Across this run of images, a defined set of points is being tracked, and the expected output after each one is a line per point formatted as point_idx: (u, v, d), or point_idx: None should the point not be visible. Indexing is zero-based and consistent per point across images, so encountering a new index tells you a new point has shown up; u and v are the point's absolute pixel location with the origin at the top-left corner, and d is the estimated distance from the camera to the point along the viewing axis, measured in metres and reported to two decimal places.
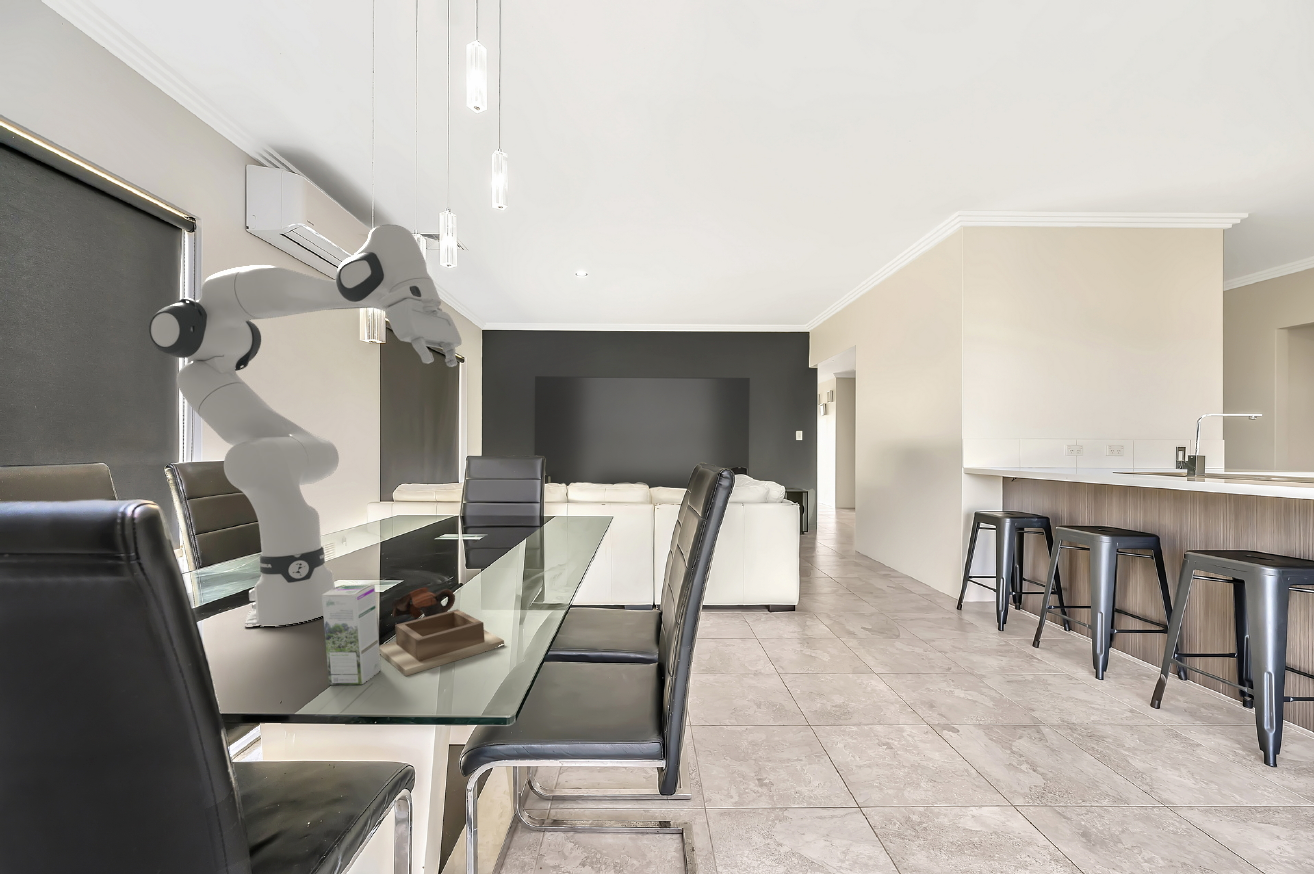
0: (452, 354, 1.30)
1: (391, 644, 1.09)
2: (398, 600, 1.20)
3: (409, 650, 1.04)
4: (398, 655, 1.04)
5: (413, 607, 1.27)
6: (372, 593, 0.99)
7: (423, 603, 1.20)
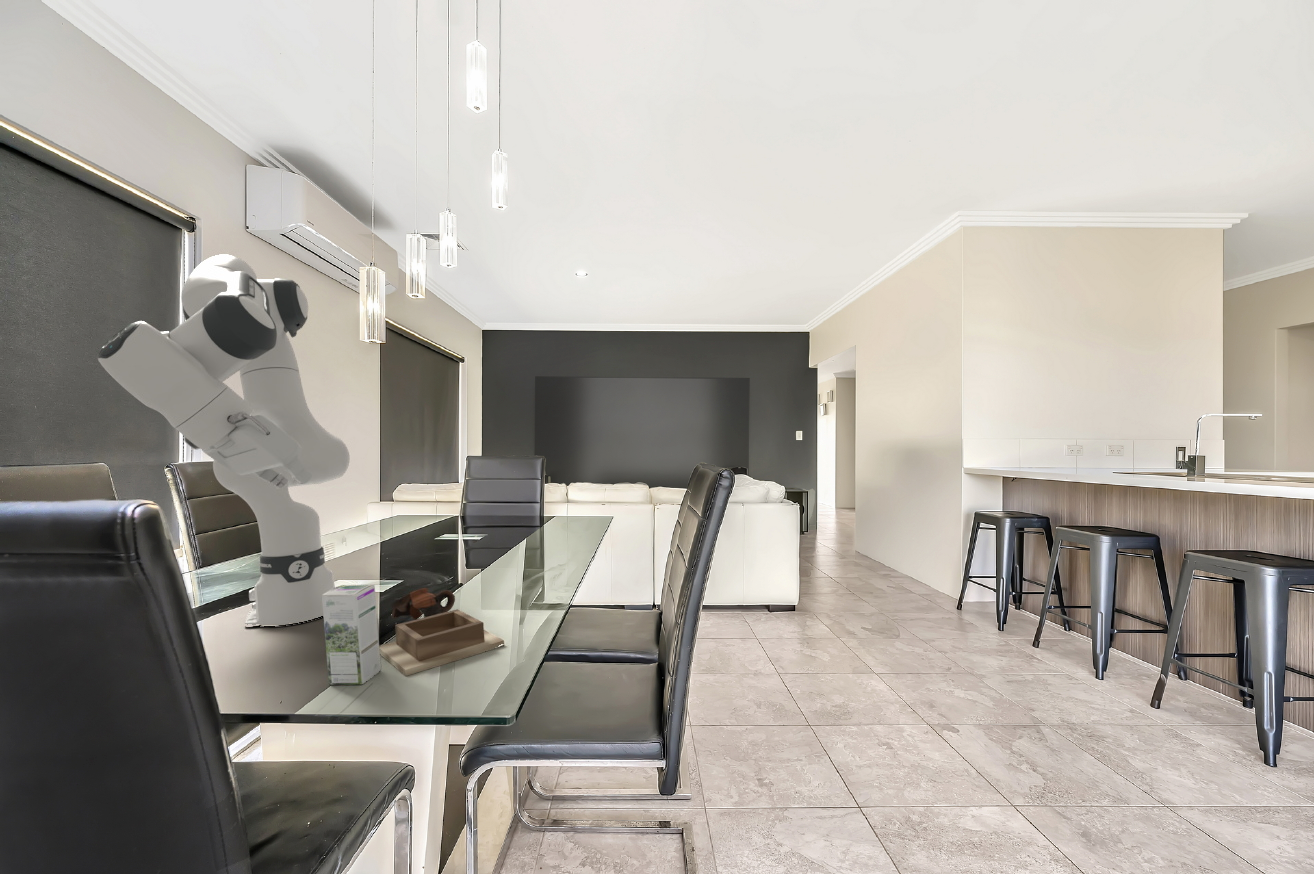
0: None
1: (391, 644, 1.09)
2: (398, 601, 1.20)
3: (409, 650, 1.04)
4: (398, 655, 1.04)
5: (413, 608, 1.26)
6: (372, 593, 0.99)
7: (423, 604, 1.20)
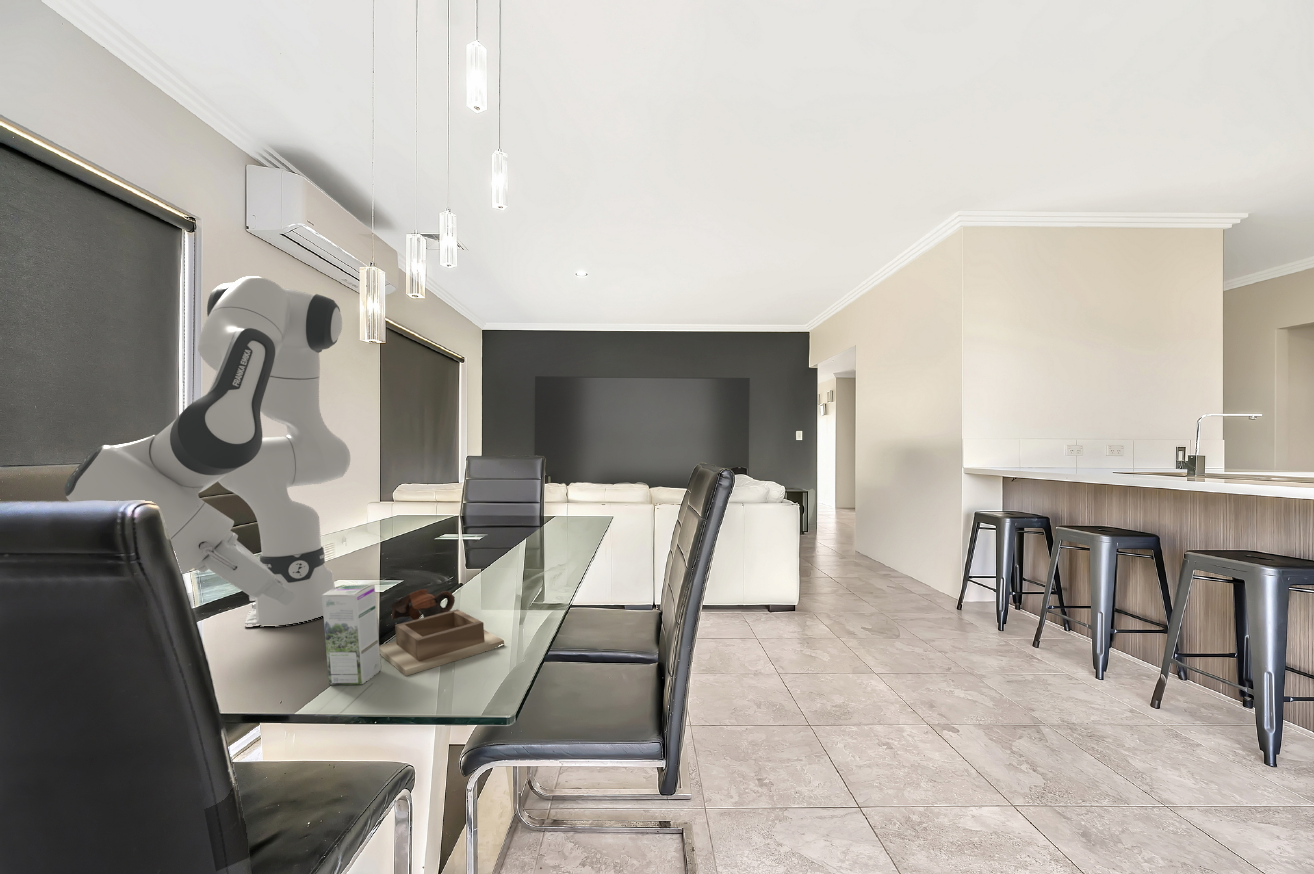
0: None
1: (391, 644, 1.09)
2: (397, 602, 1.19)
3: (409, 650, 1.04)
4: (398, 655, 1.04)
5: (412, 609, 1.25)
6: (372, 593, 0.99)
7: (422, 605, 1.19)
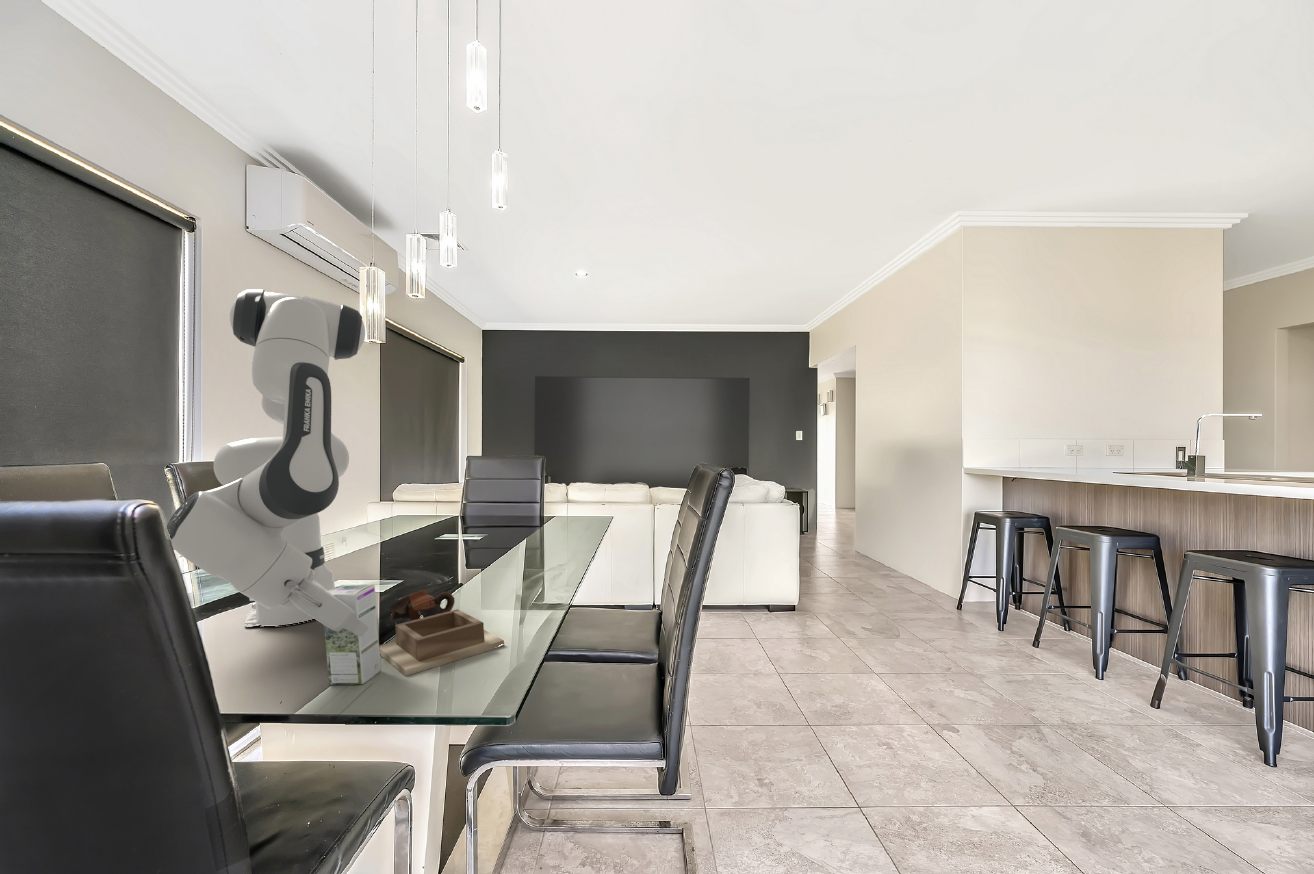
0: None
1: (391, 644, 1.09)
2: (397, 603, 1.18)
3: (409, 650, 1.04)
4: (398, 655, 1.04)
5: (411, 610, 1.25)
6: (372, 593, 0.99)
7: (422, 606, 1.18)
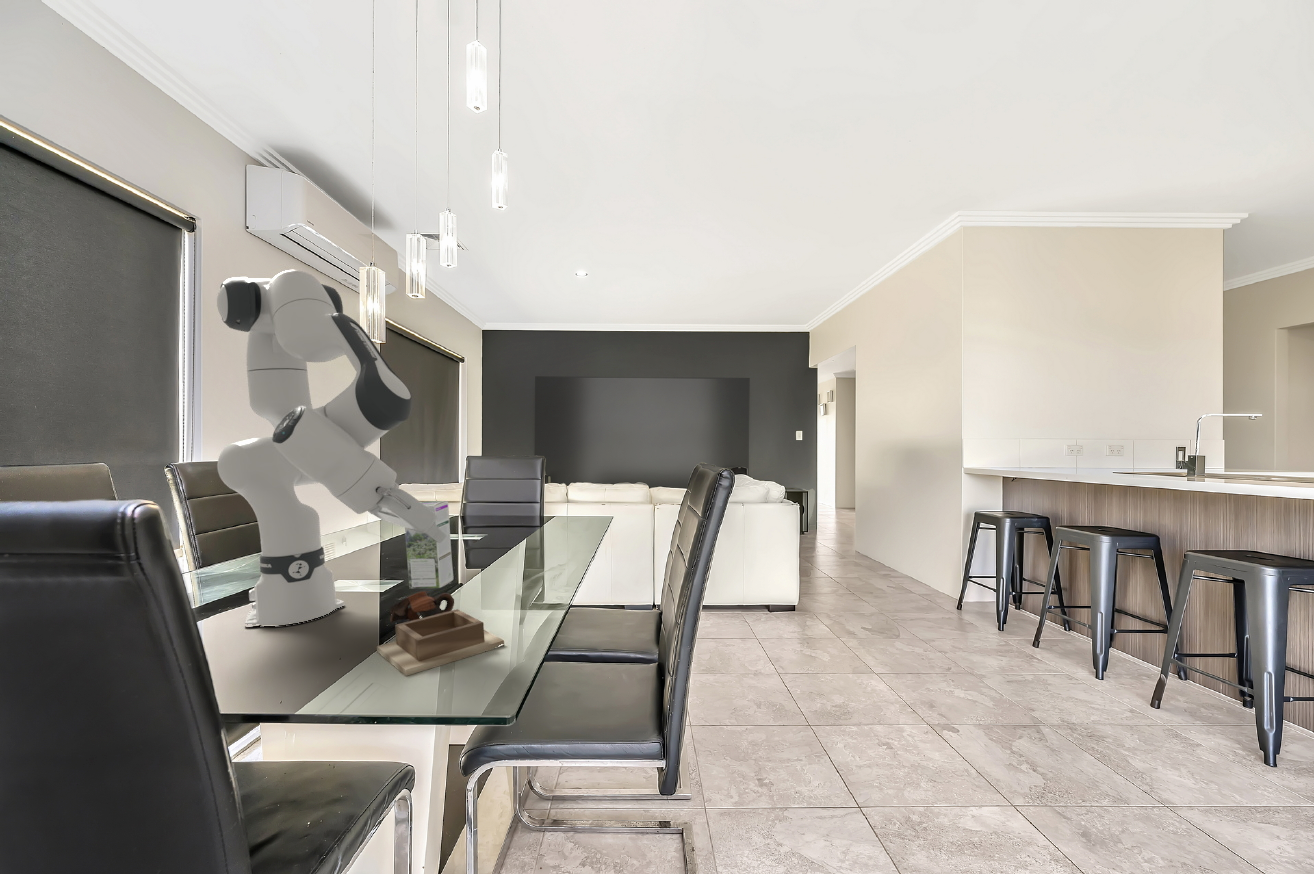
0: None
1: (391, 644, 1.09)
2: (396, 605, 1.17)
3: (409, 650, 1.04)
4: (398, 655, 1.04)
5: (411, 612, 1.24)
6: (446, 508, 1.09)
7: (422, 607, 1.17)
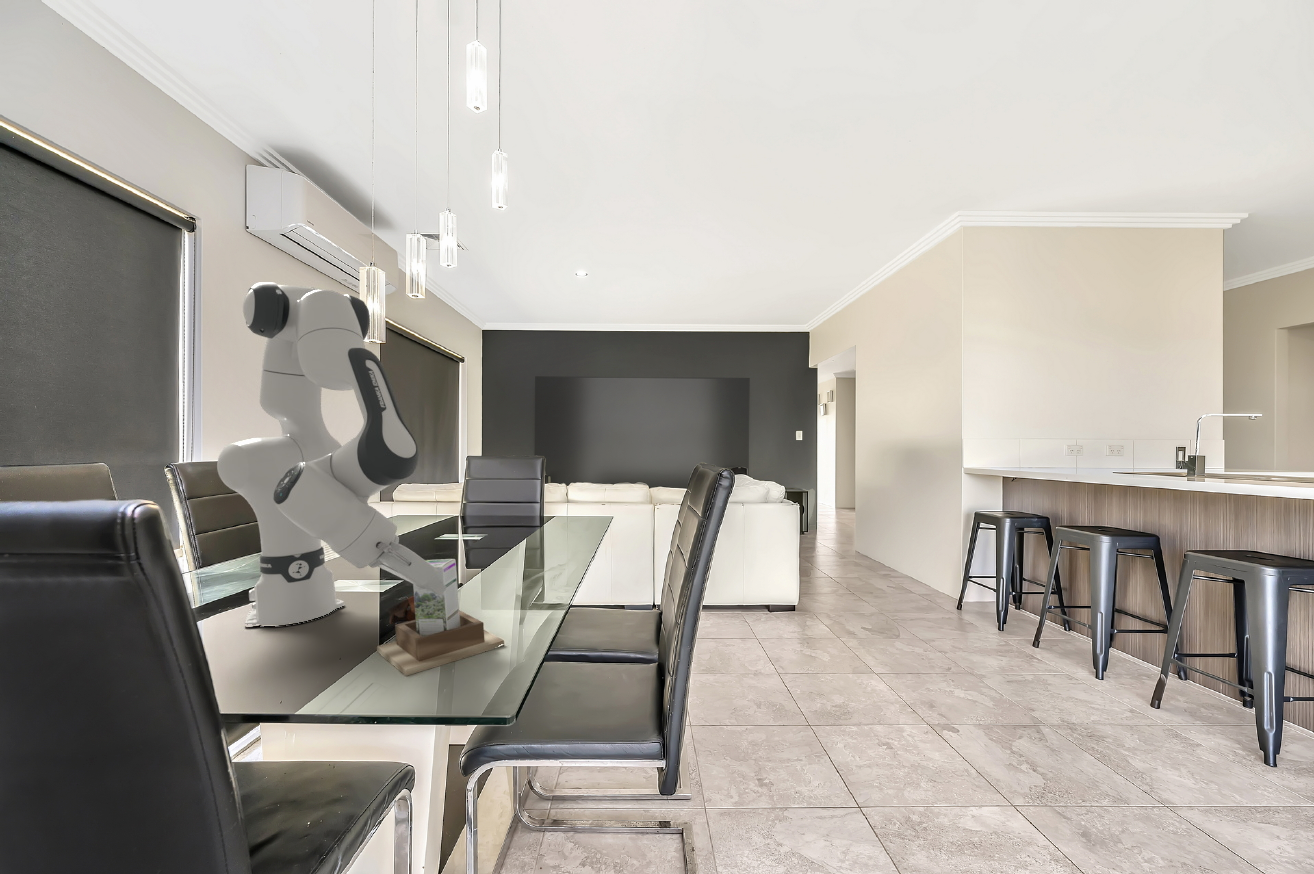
0: None
1: (391, 644, 1.09)
2: (395, 606, 1.16)
3: (409, 650, 1.04)
4: (398, 655, 1.04)
5: (410, 613, 1.22)
6: (454, 567, 1.09)
7: None
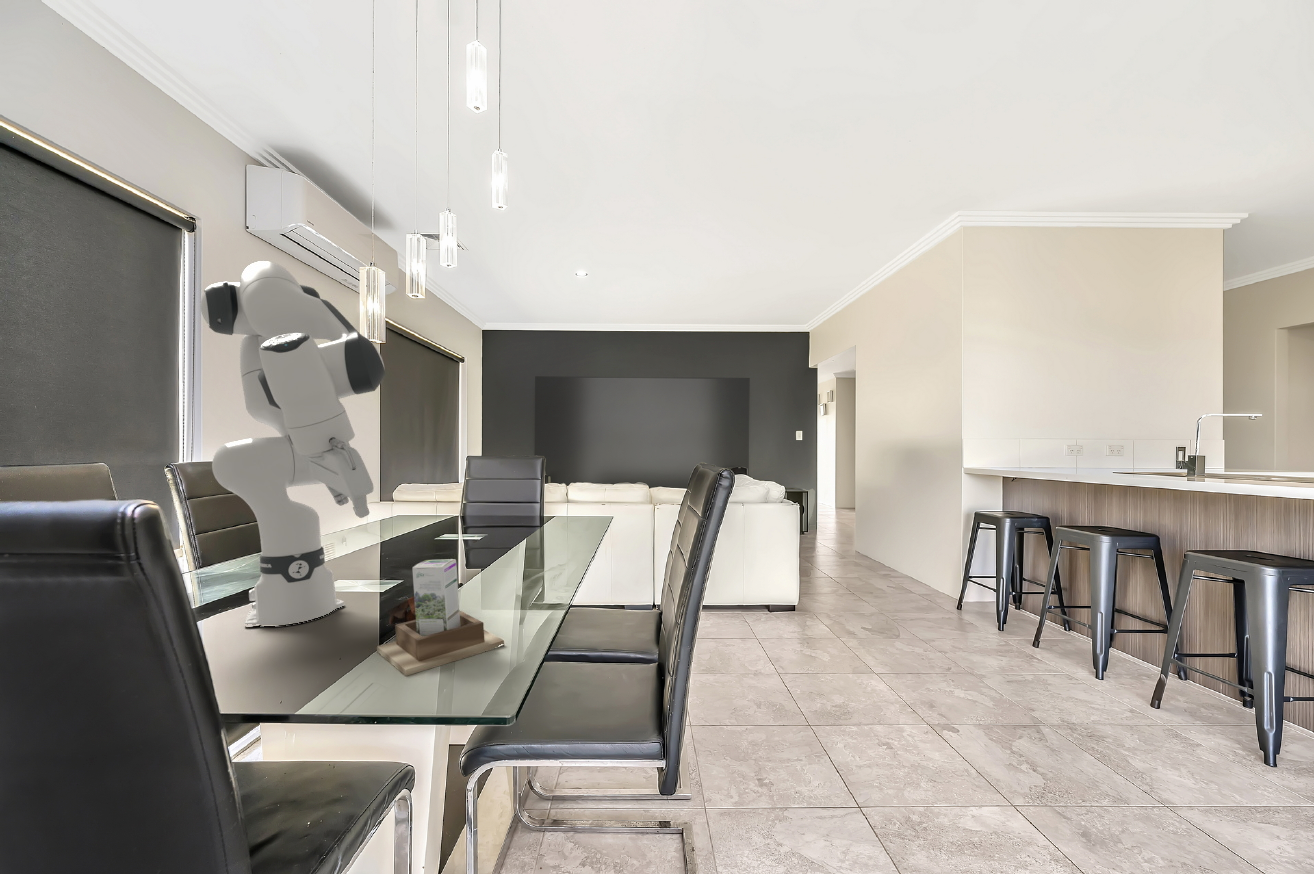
0: None
1: (391, 644, 1.09)
2: (395, 607, 1.16)
3: (409, 650, 1.04)
4: (398, 655, 1.04)
5: (410, 614, 1.22)
6: (454, 567, 1.09)
7: None
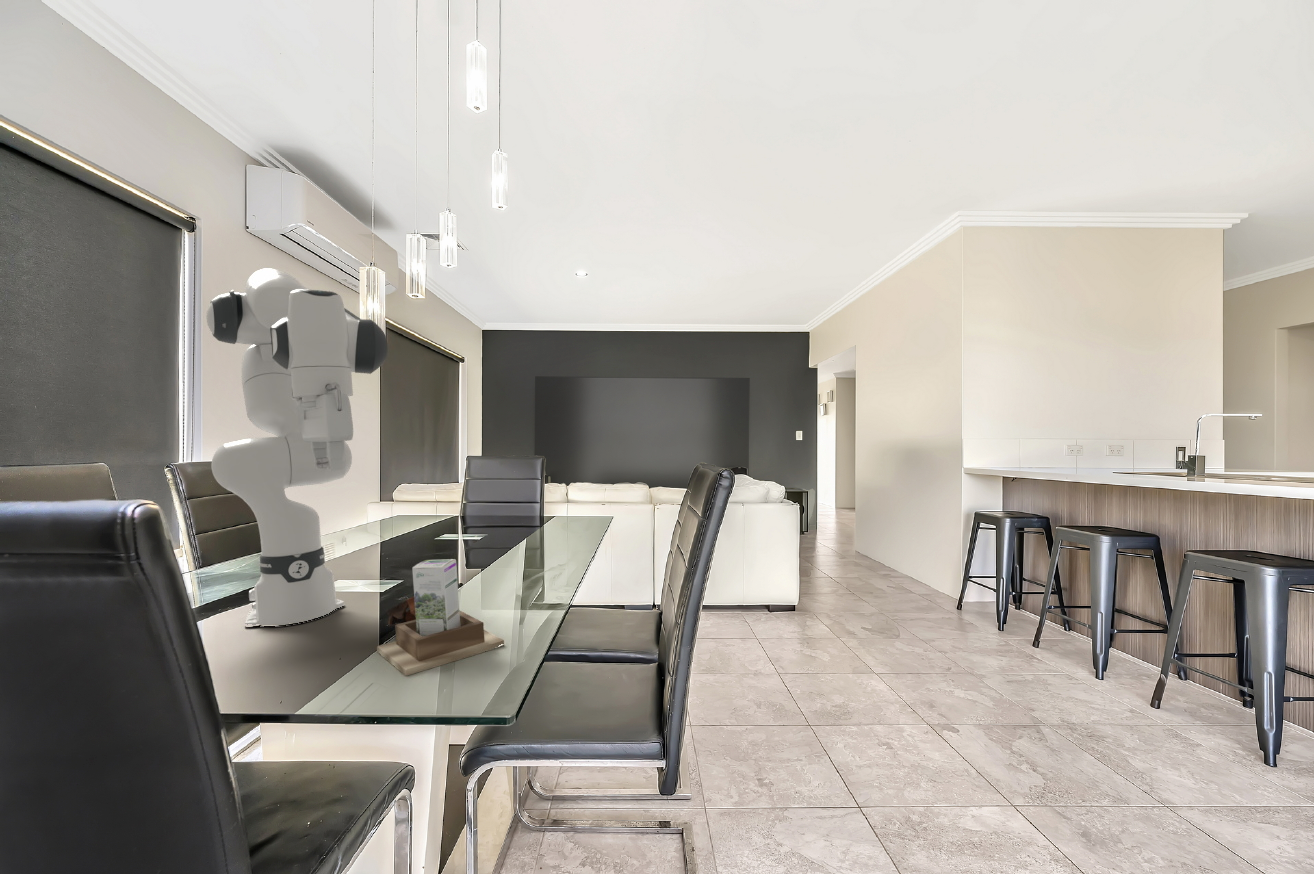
0: None
1: (391, 644, 1.09)
2: (394, 608, 1.15)
3: (409, 650, 1.04)
4: (398, 655, 1.04)
5: (408, 615, 1.22)
6: (454, 567, 1.09)
7: None
